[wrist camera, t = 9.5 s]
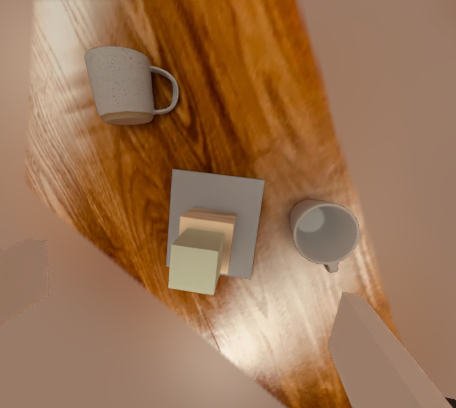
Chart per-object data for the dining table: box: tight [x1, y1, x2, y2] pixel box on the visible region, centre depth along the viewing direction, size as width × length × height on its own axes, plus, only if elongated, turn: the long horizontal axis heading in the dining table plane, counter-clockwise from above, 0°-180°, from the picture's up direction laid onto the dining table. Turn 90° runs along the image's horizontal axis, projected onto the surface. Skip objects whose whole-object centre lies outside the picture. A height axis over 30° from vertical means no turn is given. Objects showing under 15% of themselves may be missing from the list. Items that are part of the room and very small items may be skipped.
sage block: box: [168, 228, 225, 295], centre depth 27 cm, size 5×5×6 cm
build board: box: [166, 169, 265, 279], centre depth 36 cm, size 16×14×1 cm
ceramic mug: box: [85, 46, 179, 125], centre depth 30 cm, size 11×8×8 cm
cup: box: [290, 200, 360, 273], centre depth 31 cm, size 8×10×8 cm
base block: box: [179, 207, 237, 274], centre depth 33 cm, size 7×7×6 cm
